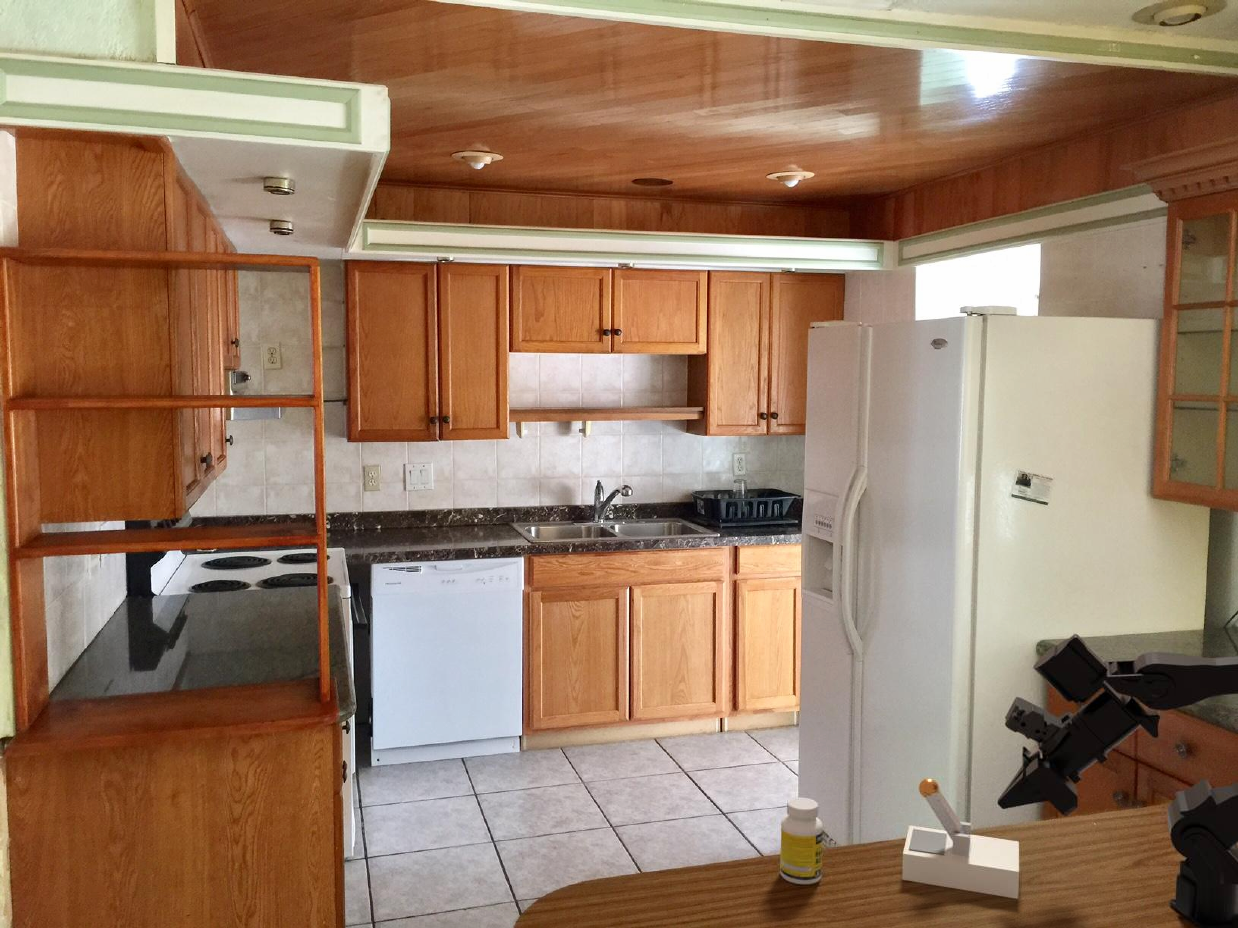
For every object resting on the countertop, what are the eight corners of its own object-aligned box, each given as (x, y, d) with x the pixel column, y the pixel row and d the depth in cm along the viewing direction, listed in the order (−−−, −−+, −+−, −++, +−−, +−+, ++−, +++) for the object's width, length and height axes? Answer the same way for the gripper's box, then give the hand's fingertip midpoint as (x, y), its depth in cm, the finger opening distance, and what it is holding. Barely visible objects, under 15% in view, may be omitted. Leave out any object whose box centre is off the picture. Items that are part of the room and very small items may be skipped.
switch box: (1017, 866, 137) (1019, 823, 136) (1018, 898, 129) (1019, 852, 128) (908, 849, 142) (909, 807, 141) (902, 879, 134) (903, 834, 133)
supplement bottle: (822, 887, 131) (823, 813, 131) (779, 883, 133) (780, 809, 132) (822, 867, 137) (823, 796, 136) (781, 864, 138) (781, 793, 137)
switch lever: (973, 835, 136) (932, 772, 137) (972, 844, 133) (931, 779, 134) (956, 843, 136) (915, 780, 138) (955, 852, 134) (914, 787, 135)
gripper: (1043, 662, 138) (956, 734, 143) (1047, 702, 121) (949, 783, 126) (1107, 724, 136) (1017, 796, 141) (1121, 775, 119) (1018, 854, 123)
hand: (999, 805), depth 133 cm, fingers closed
